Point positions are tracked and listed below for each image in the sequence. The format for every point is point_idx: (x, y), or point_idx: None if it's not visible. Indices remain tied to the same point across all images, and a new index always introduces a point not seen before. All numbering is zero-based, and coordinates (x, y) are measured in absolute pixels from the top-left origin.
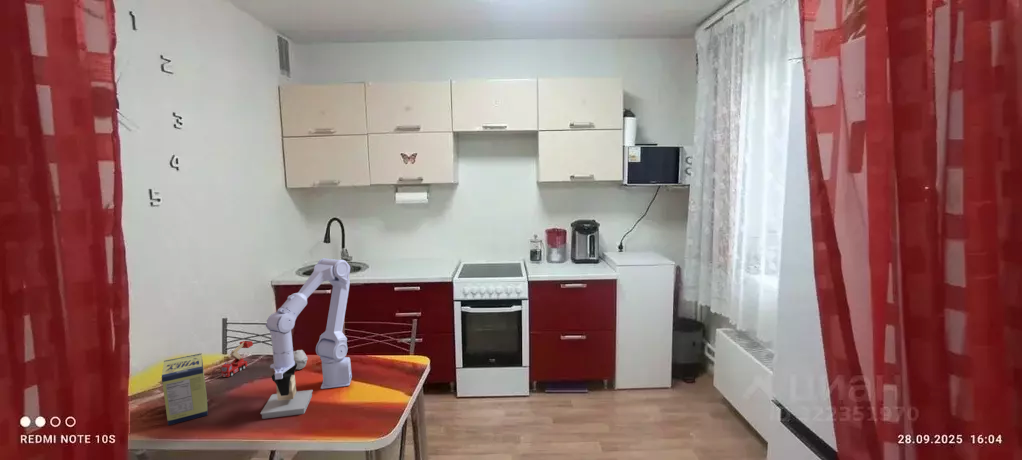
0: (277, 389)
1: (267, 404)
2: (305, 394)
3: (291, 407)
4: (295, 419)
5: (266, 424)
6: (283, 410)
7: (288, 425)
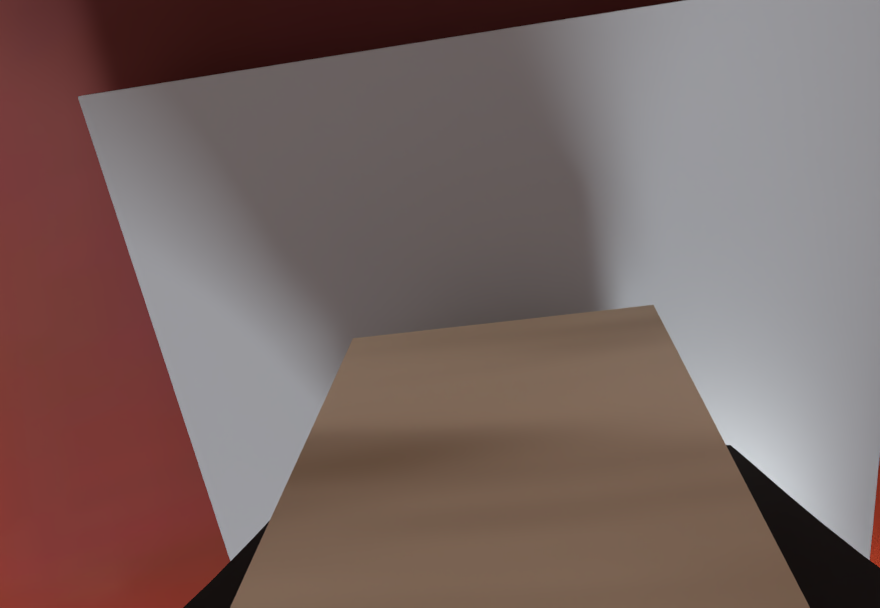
0: (289, 507)
1: (414, 82)
2: None
3: None
4: (166, 540)
5: (15, 238)
6: (195, 443)
7: (31, 509)
